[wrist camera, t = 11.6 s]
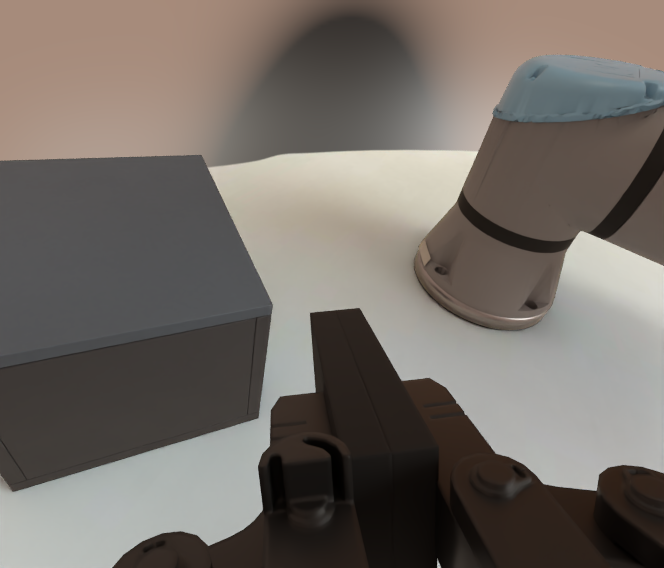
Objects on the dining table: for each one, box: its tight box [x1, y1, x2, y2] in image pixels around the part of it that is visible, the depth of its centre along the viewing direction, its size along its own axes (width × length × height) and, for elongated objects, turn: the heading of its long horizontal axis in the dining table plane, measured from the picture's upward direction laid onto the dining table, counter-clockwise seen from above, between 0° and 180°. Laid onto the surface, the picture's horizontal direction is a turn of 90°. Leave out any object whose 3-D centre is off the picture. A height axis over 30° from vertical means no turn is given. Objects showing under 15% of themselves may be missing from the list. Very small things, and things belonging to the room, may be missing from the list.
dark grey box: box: [0, 315, 271, 491], centre depth 30 cm, size 17×15×11 cm
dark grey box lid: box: [0, 155, 273, 368], centre depth 26 cm, size 18×15×1 cm
